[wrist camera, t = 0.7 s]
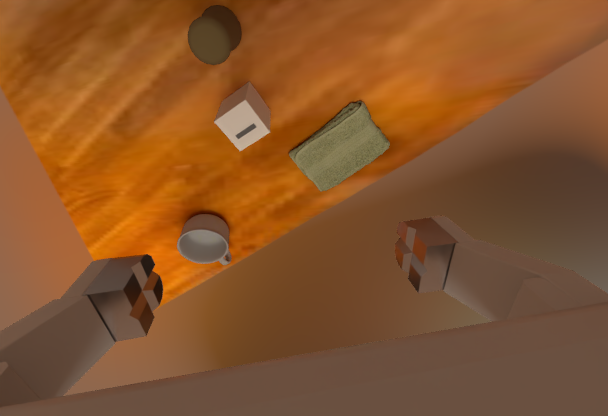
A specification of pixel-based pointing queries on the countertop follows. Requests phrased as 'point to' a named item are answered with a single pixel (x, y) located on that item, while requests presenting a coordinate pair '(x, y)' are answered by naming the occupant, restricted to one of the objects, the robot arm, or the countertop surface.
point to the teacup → (205, 240)
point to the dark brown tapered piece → (214, 35)
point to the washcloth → (340, 147)
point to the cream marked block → (244, 117)
